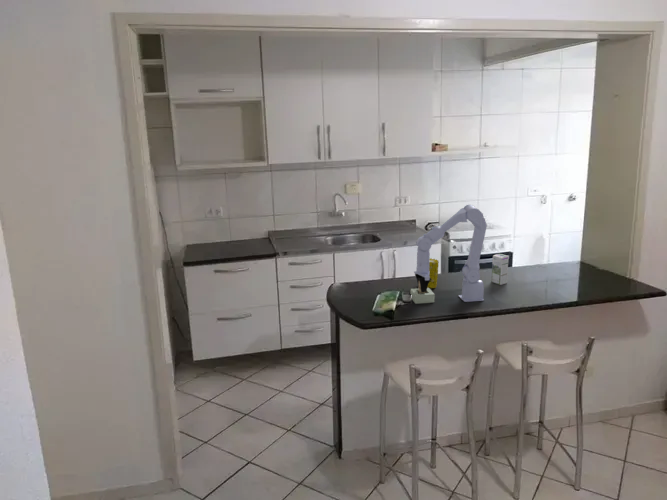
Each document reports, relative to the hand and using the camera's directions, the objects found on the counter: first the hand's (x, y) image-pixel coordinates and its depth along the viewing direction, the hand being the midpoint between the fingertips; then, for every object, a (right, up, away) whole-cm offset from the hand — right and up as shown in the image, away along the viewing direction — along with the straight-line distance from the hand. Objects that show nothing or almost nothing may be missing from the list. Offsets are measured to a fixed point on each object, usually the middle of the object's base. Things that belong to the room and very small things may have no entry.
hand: (422, 290), depth 247 cm
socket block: (0, -4, +1) cm, 5 cm away
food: (+6, 0, +18) cm, 19 cm away
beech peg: (0, -3, +1) cm, 3 cm away
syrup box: (+43, +2, +22) cm, 48 cm away
